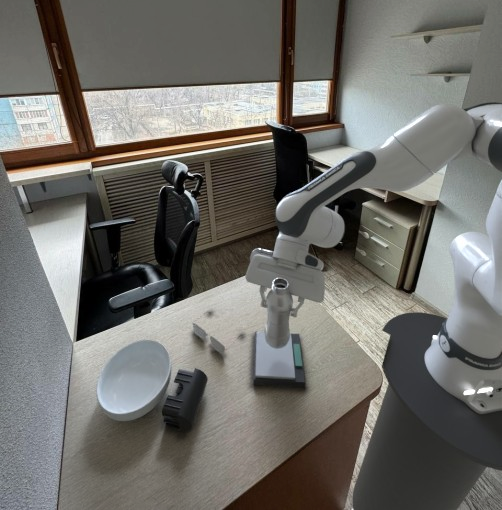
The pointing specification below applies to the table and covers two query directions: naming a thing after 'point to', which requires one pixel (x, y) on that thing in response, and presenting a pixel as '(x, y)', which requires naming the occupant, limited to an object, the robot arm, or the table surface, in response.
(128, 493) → the table surface
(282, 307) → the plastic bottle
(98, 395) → the cereal bowl
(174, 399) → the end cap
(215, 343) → the eyeglasses
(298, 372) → the scale
